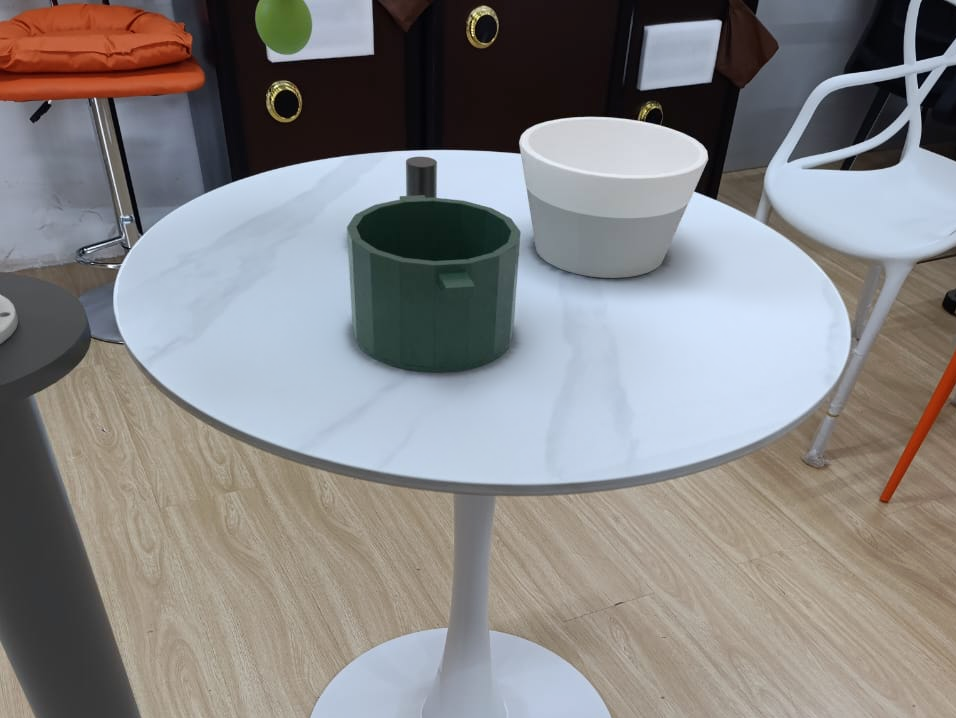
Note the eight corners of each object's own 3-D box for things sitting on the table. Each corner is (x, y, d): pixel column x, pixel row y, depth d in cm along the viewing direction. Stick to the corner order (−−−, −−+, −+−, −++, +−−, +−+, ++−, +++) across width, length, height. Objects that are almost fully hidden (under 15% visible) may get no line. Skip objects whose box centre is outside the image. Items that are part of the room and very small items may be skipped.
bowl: (724, 268, 99) (748, 160, 91) (581, 303, 91) (595, 189, 84) (614, 208, 110) (628, 108, 103) (478, 235, 102) (483, 129, 95)
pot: (372, 395, 77) (368, 283, 70) (340, 291, 91) (333, 190, 84) (539, 380, 80) (549, 272, 73) (483, 282, 94) (487, 184, 87)
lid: (361, 276, 93) (357, 191, 88) (340, 218, 104) (335, 139, 98) (509, 267, 97) (514, 185, 91) (473, 212, 107) (476, 135, 101)
